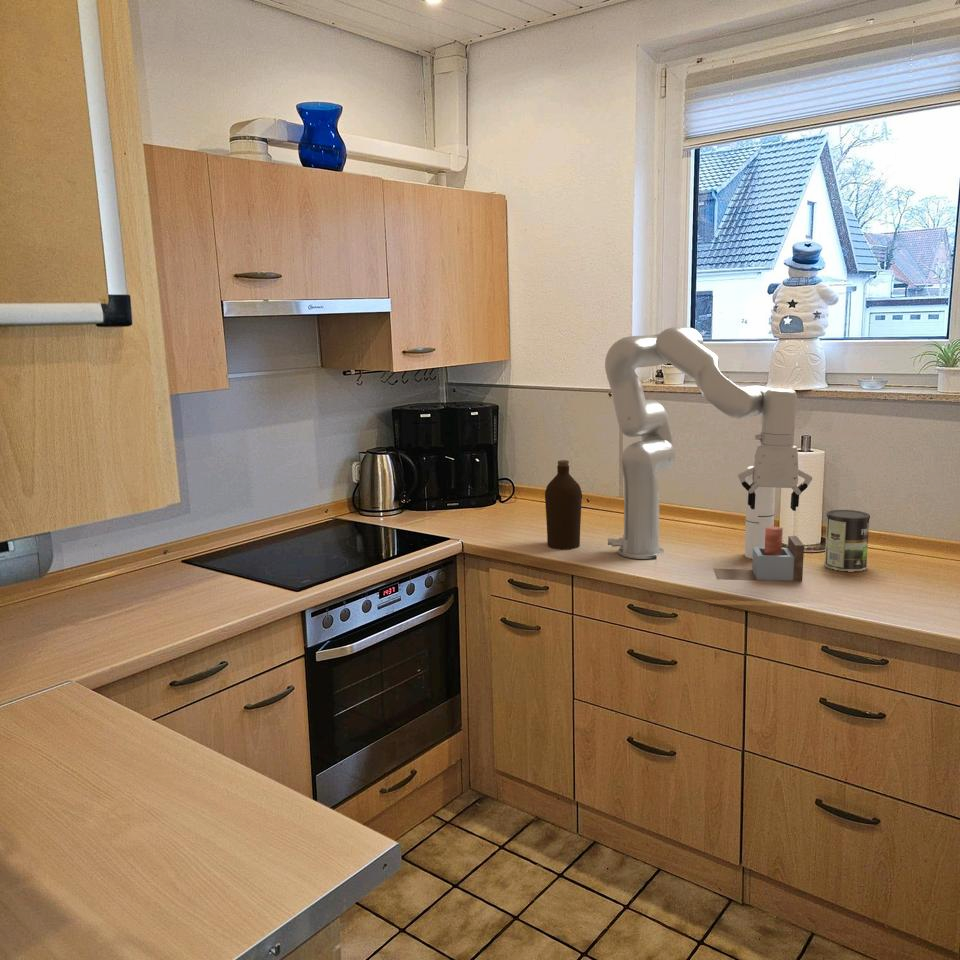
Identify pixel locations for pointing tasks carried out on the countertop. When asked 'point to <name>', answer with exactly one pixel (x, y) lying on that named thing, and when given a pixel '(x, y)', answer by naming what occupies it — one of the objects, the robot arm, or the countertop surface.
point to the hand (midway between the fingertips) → (772, 508)
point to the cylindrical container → (758, 517)
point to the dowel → (773, 540)
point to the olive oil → (563, 509)
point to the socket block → (773, 565)
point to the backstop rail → (743, 574)
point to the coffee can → (847, 540)
